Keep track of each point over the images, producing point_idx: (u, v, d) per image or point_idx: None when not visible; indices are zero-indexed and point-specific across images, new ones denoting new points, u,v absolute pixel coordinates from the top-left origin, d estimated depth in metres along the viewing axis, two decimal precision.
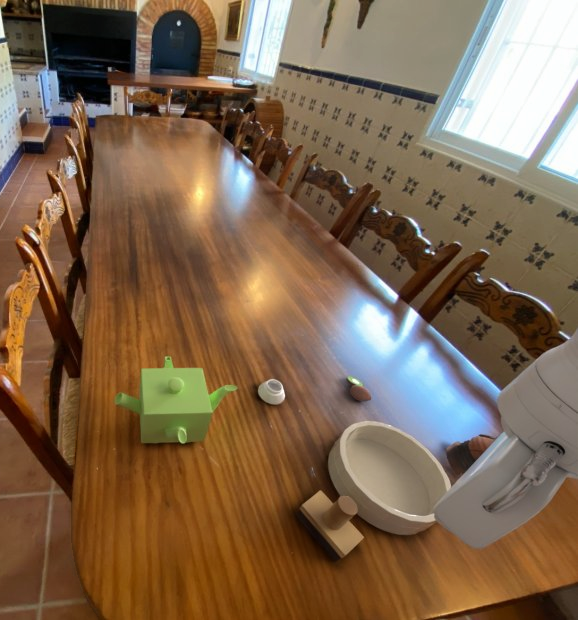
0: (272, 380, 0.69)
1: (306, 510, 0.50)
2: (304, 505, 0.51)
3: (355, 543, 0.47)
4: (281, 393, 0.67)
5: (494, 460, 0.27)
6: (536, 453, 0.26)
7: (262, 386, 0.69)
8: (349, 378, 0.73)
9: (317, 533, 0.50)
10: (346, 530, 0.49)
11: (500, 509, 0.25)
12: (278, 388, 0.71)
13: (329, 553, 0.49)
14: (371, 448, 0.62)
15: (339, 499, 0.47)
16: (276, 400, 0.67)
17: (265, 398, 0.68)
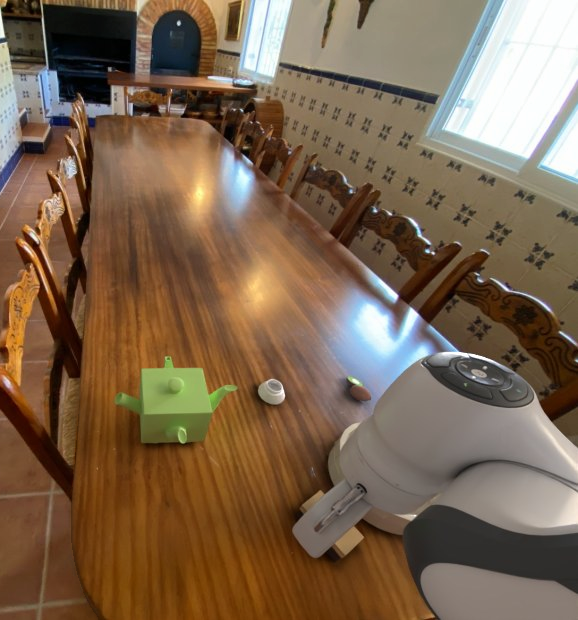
0: (272, 380, 0.69)
1: (306, 510, 0.50)
2: (304, 505, 0.51)
3: (355, 543, 0.47)
4: (281, 393, 0.67)
5: (324, 495, 0.39)
6: (347, 492, 0.37)
7: (262, 386, 0.69)
8: (349, 378, 0.73)
9: None
10: None
11: (319, 531, 0.37)
12: (278, 388, 0.71)
13: (329, 553, 0.49)
14: None
15: None
16: (276, 400, 0.67)
17: (265, 398, 0.68)
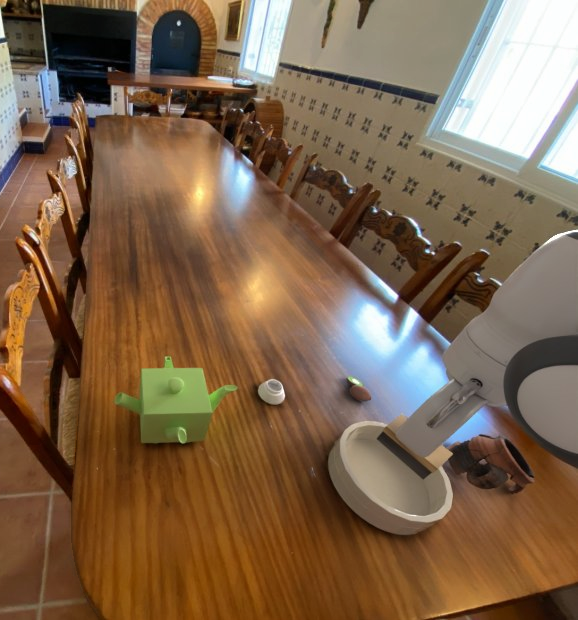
0: (272, 380, 0.69)
1: (391, 430, 0.50)
2: (388, 426, 0.51)
3: (445, 458, 0.47)
4: (281, 393, 0.67)
5: (435, 392, 0.39)
6: (462, 385, 0.37)
7: (262, 386, 0.69)
8: (349, 378, 0.73)
9: (403, 452, 0.50)
10: None
11: (436, 423, 0.37)
12: (278, 388, 0.71)
13: (417, 471, 0.49)
14: (371, 448, 0.62)
15: None
16: (276, 400, 0.67)
17: (265, 398, 0.68)
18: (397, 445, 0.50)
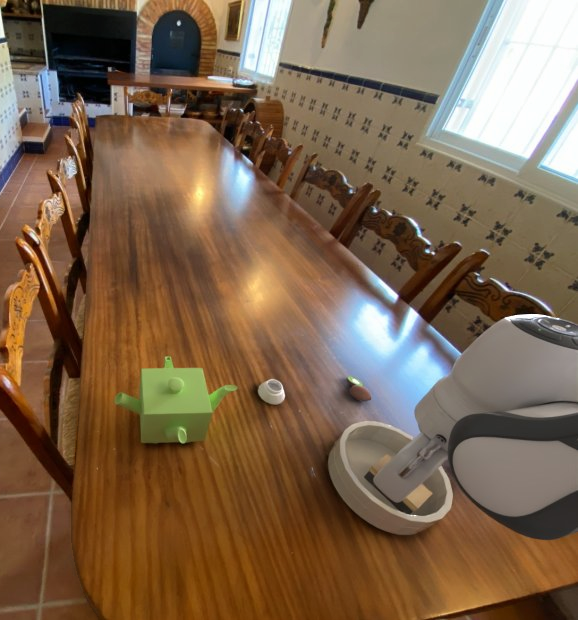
0: (272, 380, 0.69)
1: (376, 470, 0.55)
2: (374, 466, 0.55)
3: (425, 498, 0.52)
4: (281, 393, 0.67)
5: (406, 446, 0.44)
6: (429, 441, 0.43)
7: (262, 386, 0.69)
8: (349, 378, 0.73)
9: None
10: None
11: (405, 475, 0.42)
12: (278, 388, 0.71)
13: (400, 509, 0.53)
14: (371, 448, 0.62)
15: None
16: (276, 400, 0.67)
17: (265, 398, 0.68)
18: None
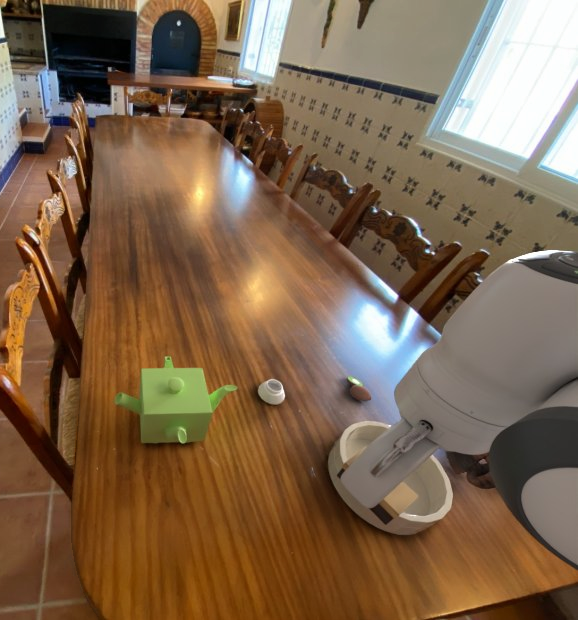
0: (272, 380, 0.69)
1: None
2: (348, 462, 0.45)
3: (409, 502, 0.42)
4: (281, 393, 0.67)
5: (381, 435, 0.34)
6: (410, 429, 0.32)
7: (262, 386, 0.69)
8: (349, 378, 0.73)
9: None
10: (398, 488, 0.43)
11: (378, 473, 0.32)
12: (278, 388, 0.71)
13: (379, 515, 0.43)
14: None
15: None
16: (276, 400, 0.67)
17: (265, 398, 0.68)
18: None
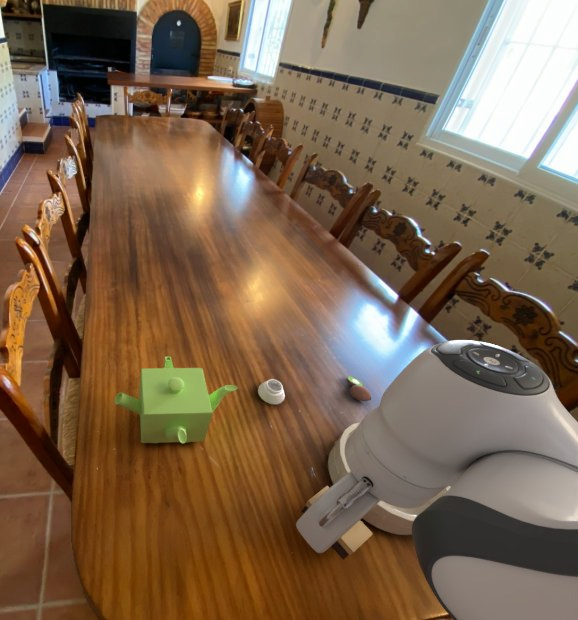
0: (272, 380, 0.69)
1: None
2: (310, 501, 0.49)
3: (363, 540, 0.46)
4: (281, 393, 0.67)
5: (329, 489, 0.38)
6: (353, 485, 0.36)
7: (262, 386, 0.69)
8: (349, 378, 0.73)
9: None
10: (354, 526, 0.47)
11: (324, 525, 0.36)
12: (278, 388, 0.71)
13: (337, 550, 0.47)
14: None
15: None
16: (276, 400, 0.67)
17: (265, 398, 0.68)
18: None
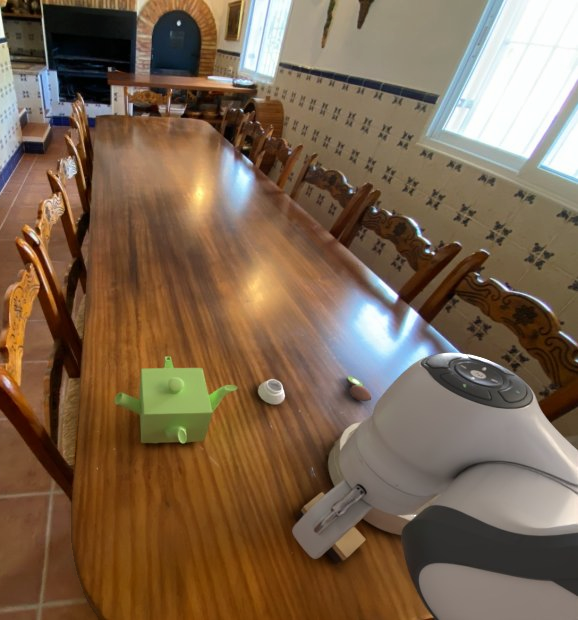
0: (272, 380, 0.69)
1: None
2: (305, 507, 0.51)
3: (357, 545, 0.47)
4: (281, 393, 0.67)
5: (323, 496, 0.39)
6: (347, 493, 0.38)
7: (262, 386, 0.69)
8: (349, 378, 0.73)
9: None
10: (348, 532, 0.48)
11: (318, 532, 0.37)
12: (278, 388, 0.71)
13: (331, 555, 0.49)
14: None
15: None
16: (276, 400, 0.67)
17: (265, 398, 0.68)
18: None
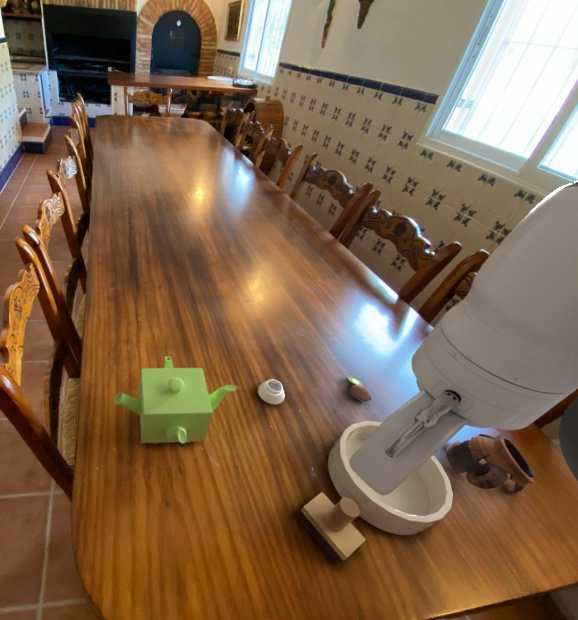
0: (272, 380, 0.69)
1: (307, 512, 0.50)
2: (305, 507, 0.51)
3: (357, 545, 0.47)
4: (281, 393, 0.67)
5: (398, 408, 0.28)
6: (433, 400, 0.27)
7: (262, 386, 0.69)
8: (349, 378, 0.73)
9: (319, 535, 0.50)
10: (348, 532, 0.48)
11: (396, 452, 0.27)
12: (278, 388, 0.71)
13: (331, 555, 0.49)
14: None
15: (341, 501, 0.46)
16: (276, 400, 0.67)
17: (265, 398, 0.68)
18: (313, 527, 0.50)
